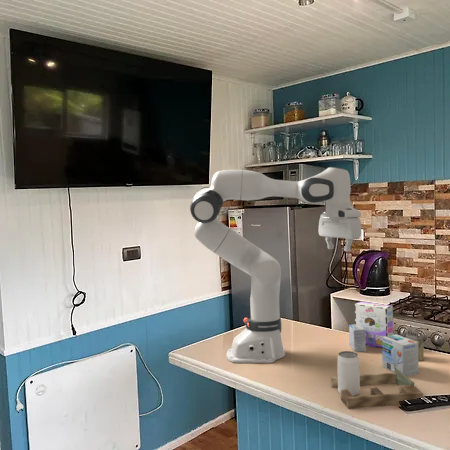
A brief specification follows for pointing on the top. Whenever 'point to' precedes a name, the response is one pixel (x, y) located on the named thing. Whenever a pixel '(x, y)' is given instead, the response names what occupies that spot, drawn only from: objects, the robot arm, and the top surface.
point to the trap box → (377, 396)
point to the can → (348, 372)
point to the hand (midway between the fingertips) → (338, 250)
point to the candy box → (374, 321)
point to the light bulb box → (400, 354)
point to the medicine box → (357, 338)
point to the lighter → (420, 342)
